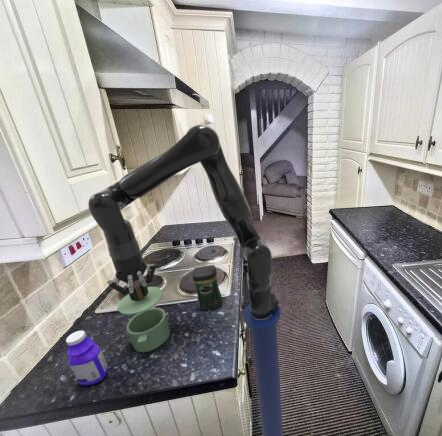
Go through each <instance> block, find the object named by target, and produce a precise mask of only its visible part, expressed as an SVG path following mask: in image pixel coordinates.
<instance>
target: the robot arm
mask: <svg viewBox="0 0 442 436" xmlns="http://www.w3.org/2000/svg"><path fill="white" fill-rule="evenodd" d="M196 164H200V165H201V166H202V167H203V170H204V172H205V175H206V176H207V179H208V181H209V185H210V188H211V192H212V194H213V197H214V200H215V202H216V204H217V207H218V208H219V210H220V212H221V214H222V216H223V218H224V219H225V221H226V223H227V224H228V225H229V227H230V228H231V229H232V230H233V232H234V234H235V235H236V237H237V240H238V243H239V245H240V248H241V251H242V254H243V257H244V258H245V260H246V264H247V273H246V281H247V289H248V299H249V304H250V309H251V316H252V318H253V319H255V320H258V321H263V320H267V319H269V318H270V317H271V316H272V315H274V314H275V311H274V308H277V307H278V305H279V303H280V302H279V299H277V297H276V295H275V293H273V290H272V273H273V256H272V255H273V254H272V251H271V249H270V248H269V246H268V245H267V244H266V242H265V241H264V240H263V238H262V237H261V235H260V234H259V232H258V231H257V229H256V226H255V224H254V221H253V216H252V210H251V207H250V205H249V202H248V200H247V197H246V195H245V193H244V192H243V189H242V187H241V185H240V184H239V182H238V180H237V178H236V177H235V175H234V174H233V172H232V170H231V168H230V167H229V164H228V162H227V159H226V157H225V154H224V150H223V148H222V145H221V142H220V136H219V135H218V133H217V131H216V130H215V129H214V128H212V127H211V126H210V125H207V124H196V125H194V126H191V127H190V128H189V129H188V130H187V131H186V133H185V134H184V135H183V136H182V137H181V138H180V139H179V140H178V141H176V143H174V145H172V146H171V147H169V148H168V149H167V150H166V151H164V152H163V153H160V154H159V155H157V156H155V157H154V158H152V159H150V160H147V161H146V162H144V163H143V164H141V165H139V166H137V167H136V168H134V169H132V170H130V172H128V173H126V174H125V175H124V176H123V177H121V178H120V179H119V180H118V181H116V182H114V183H112V184H111V185H109V186H107V187H106V188H104V189H102V190H100V191H98V192H96V193H93V194H92V195H91V196H90V197H89V199H88V203H87V204H88V205H87V207H88V210H89V213H90V215H91V217H92V218H93V220H94V221H95V223H96V224H97V225H98V227H99V228H100V229H101V230H102V232H103V235H104V239H105V242H106V244H107V249H108V250H107V251H108V254H109V257H110V259H111V261H112V264H113V267H114V270H115V276H114V278H112V279H110V280H108V281H107V284H108V286H109V287H110V288H111V289H113V290H115V291H116V292H118V293H119V294H121V295H123V296H126V295H127V294H129V296H130V299H131V300H132V301H137V297H136V294H135V292H134V289H133V285H134V282H136V281H138V282H139V284H141V287H142V290H143V293H144V296H147V294H148V289H147V287H148V284H151V283H152V282H153V279H154V276H155V272H156V265H155V264H153V263H149V264H147V263H145V261H144V258H143V253H142V251H141V248H140V244H139V241H138V239H137V238H136V235H135V230H134V228H133V225H132V223H131V222H130V220H128V219H126V218H124V216H123V214H122V210H124V209H125V208H126V207H128V206H129V205H131V204H132V203H133V202H135V201H136V200H138V199H140V198H142V197H145V196H146V195H147V194H149V193H151V192H152V191H154V190H155V189H157V188H158V187H160V186H161V185H163V184H164V183H165V182H167V181H168V180H170V179H171V178H173V177H174V176H176V175H178V174H179V173H180V172H182V171H184V170H186V169H188V168H190V167H192V166H194V165H196ZM145 272H146V274H145ZM144 274H145V277H144ZM119 281H121V282H123V283H125V287H123V286H121V285H120V283H119Z"/></svg>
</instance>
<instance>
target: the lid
mask: <svg viewBox="0 0 442 436" xmlns="http://www.w3.org/2000/svg"><path fill="white" fill-rule="evenodd" d="M133 289H134V292H135V294H136V297H137V301H132V300H131V299H130V296H129V293H127V294H126V295H124V297H123V298H122V299H121V300H119V302H118V303H117V311H118V313H120V314H121V315H124V316H125V315H127V316H130V315H137V314H138V313H141V312H143V311H146V310H148V309H150V308H151V307H153V306H154V305H155V306H156V305H157V304H158V303H159V302H160V301H161V300H162V298H163V295H164V294H163V293H164V292H163V290H162V289H161V288H160V287H157V286H147V289H148V294H147V296H144V293H143V290H142V287H141V284H140V283H135V284H133Z"/></svg>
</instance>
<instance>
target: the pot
mask: <svg viewBox="0 0 442 436" xmlns="http://www.w3.org/2000/svg"><path fill="white" fill-rule="evenodd" d="M125 329H126V332H127V335H128V337H129V340H130V343H131V345H132V348H133V350H135V351H136V352H137V353H148V352H151V351H154V350H156V349H157V348H159V347H161V346H162V345H164V344H165V342H167V340H168V339H169V337H170V335H171V326H170V323H169V319H168V316H167V313H166V311H165V310H164V309H163V308H162V307H156V305H154V306H153V307H151V308H150V309H148V310H146V311H143V312H141V313H137V314H134V316H132V317H131V318H130V320H129V321H128V322H127V323H126V327H125Z"/></svg>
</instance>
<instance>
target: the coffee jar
mask: <svg viewBox="0 0 442 436" xmlns="http://www.w3.org/2000/svg"><path fill="white" fill-rule="evenodd" d="M217 278H218V270H217V267H216V266H215V265H214V264H210V265H204V266H197V267H194V268H193V271H192V282H193V284H194V285H195V288H196V295H197V305H198V308H199V310H201V311H210V310H214V309H217V308H220V306H221V305H222V303H223V298H222V297H223V296H222V293H221V291H220V287H219V283H218V280H217Z"/></svg>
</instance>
